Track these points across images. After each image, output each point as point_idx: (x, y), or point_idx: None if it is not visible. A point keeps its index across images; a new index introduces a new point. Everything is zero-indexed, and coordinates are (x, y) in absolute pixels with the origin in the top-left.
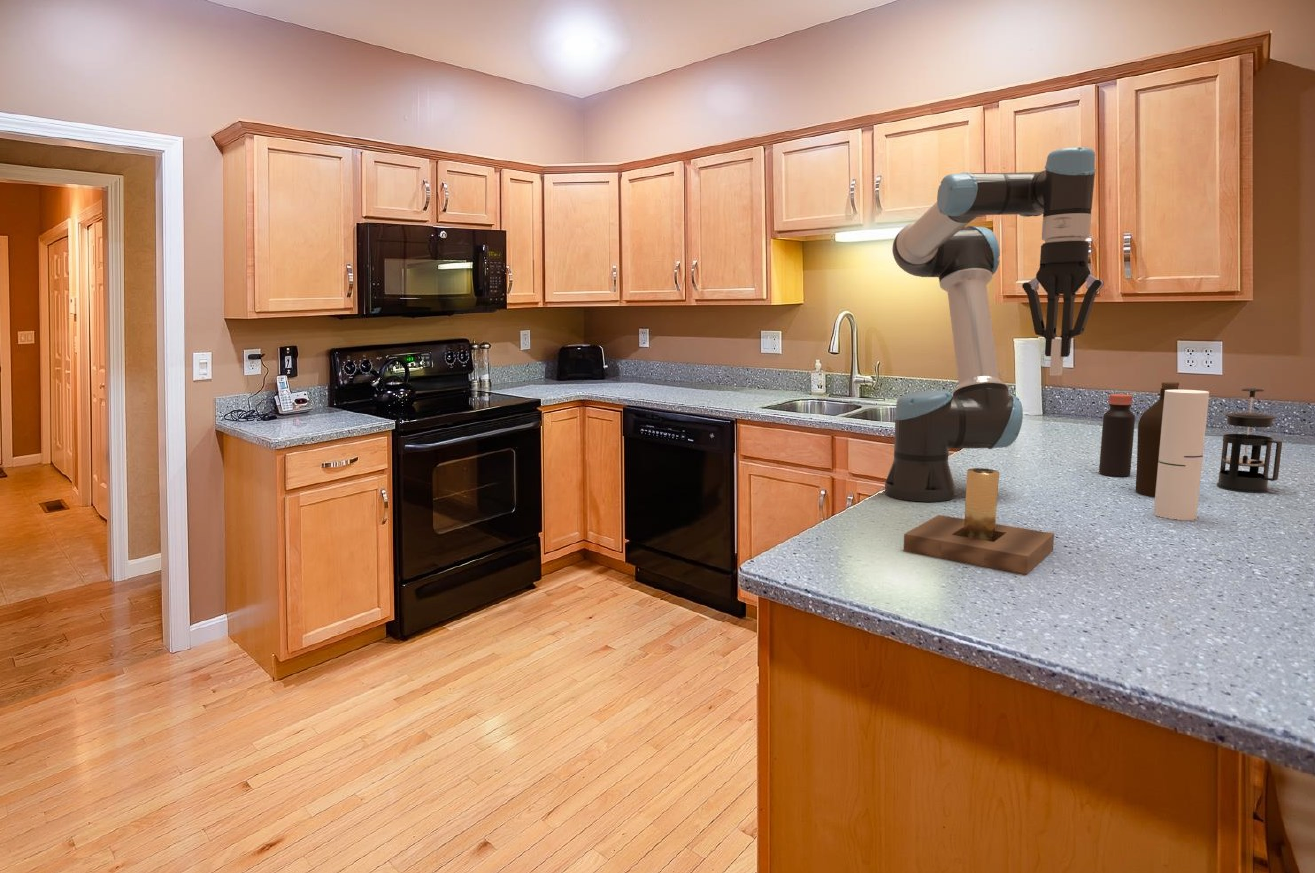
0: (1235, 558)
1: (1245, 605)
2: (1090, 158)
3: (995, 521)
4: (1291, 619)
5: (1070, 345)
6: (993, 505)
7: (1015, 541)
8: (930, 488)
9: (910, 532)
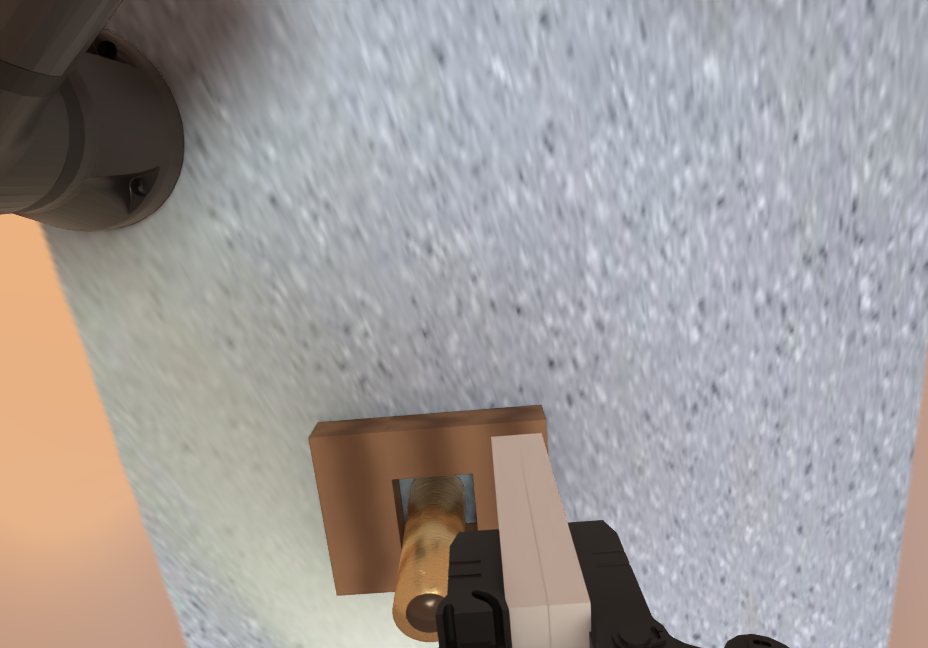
0: (835, 226)
1: (840, 488)
2: None
3: (464, 526)
4: (892, 506)
5: (637, 583)
6: None
7: None
8: (130, 181)
9: (339, 581)
